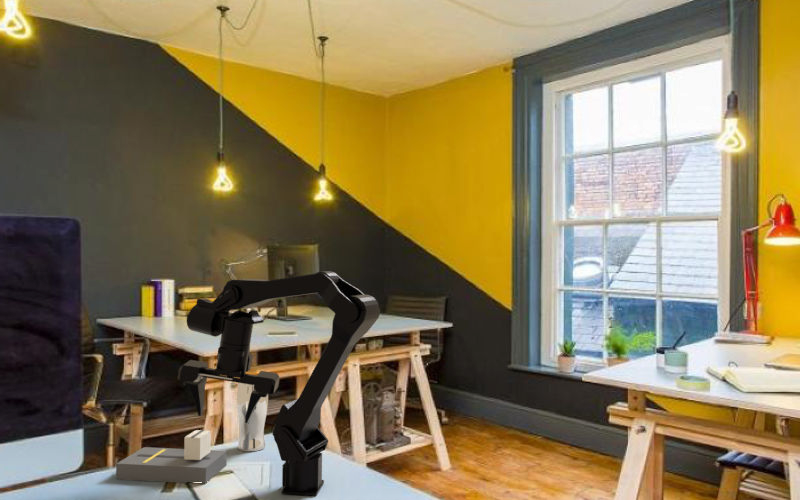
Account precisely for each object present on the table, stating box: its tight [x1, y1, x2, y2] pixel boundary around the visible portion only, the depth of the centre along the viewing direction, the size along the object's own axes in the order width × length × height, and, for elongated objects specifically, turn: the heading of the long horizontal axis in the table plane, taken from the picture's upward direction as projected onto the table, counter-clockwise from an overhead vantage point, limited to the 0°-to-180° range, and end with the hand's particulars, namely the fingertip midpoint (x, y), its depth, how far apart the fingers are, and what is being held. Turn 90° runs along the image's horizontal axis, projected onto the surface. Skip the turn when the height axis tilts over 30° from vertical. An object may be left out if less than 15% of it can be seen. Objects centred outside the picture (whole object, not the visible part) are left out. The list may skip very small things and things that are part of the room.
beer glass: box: [236, 382, 269, 453], centre depth 132 cm, size 7×7×15 cm
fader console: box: [115, 446, 228, 484], centre depth 116 cm, size 18×10×3 cm, turn 84°
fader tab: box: [183, 429, 212, 460], centre depth 116 cm, size 3×5×4 cm, turn 174°
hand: (223, 418), depth 115 cm, fingers open, 9 cm apart
